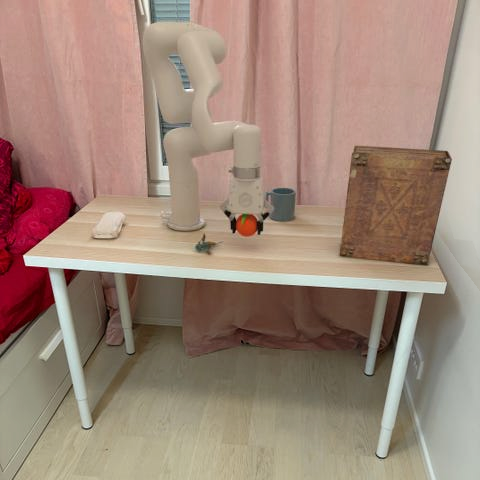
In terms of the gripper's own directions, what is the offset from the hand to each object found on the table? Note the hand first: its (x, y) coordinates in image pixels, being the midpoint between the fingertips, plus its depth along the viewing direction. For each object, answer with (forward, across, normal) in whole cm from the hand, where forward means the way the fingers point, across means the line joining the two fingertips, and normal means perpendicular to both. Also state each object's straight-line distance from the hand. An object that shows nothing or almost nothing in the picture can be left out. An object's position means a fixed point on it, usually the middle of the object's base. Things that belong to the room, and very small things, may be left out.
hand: (246, 232), depth 143 cm
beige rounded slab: (+6, -48, +10) cm, 49 cm away
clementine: (+2, 0, 0) cm, 2 cm away
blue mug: (+6, +6, +34) cm, 35 cm away
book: (+6, +41, +4) cm, 42 cm away
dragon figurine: (+6, -12, -1) cm, 13 cm away
